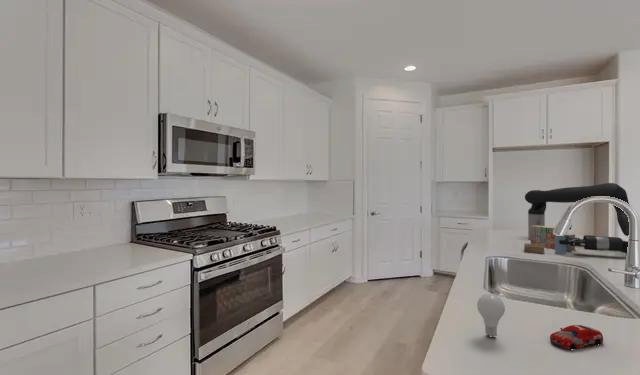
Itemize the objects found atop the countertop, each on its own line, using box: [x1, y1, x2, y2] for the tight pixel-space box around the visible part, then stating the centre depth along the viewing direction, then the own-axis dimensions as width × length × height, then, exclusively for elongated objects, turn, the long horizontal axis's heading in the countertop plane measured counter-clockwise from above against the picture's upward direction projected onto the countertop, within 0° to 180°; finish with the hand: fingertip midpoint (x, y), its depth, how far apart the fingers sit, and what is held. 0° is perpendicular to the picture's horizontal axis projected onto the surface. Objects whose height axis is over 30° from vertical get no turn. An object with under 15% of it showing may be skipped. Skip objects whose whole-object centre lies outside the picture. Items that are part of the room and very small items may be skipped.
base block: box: [523, 242, 545, 255], centre depth 181 cm, size 9×9×4 cm
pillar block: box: [554, 235, 567, 256], centre depth 176 cm, size 4×4×12 cm
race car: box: [549, 324, 604, 351], centre depth 80 cm, size 13×5×4 cm, turn 103°
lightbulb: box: [476, 293, 506, 337], centre depth 84 cm, size 6×6×11 cm
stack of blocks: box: [530, 225, 576, 252], centre depth 191 cm, size 21×6×12 cm, turn 26°
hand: (557, 240), depth 176 cm, fingers open, 8 cm apart
